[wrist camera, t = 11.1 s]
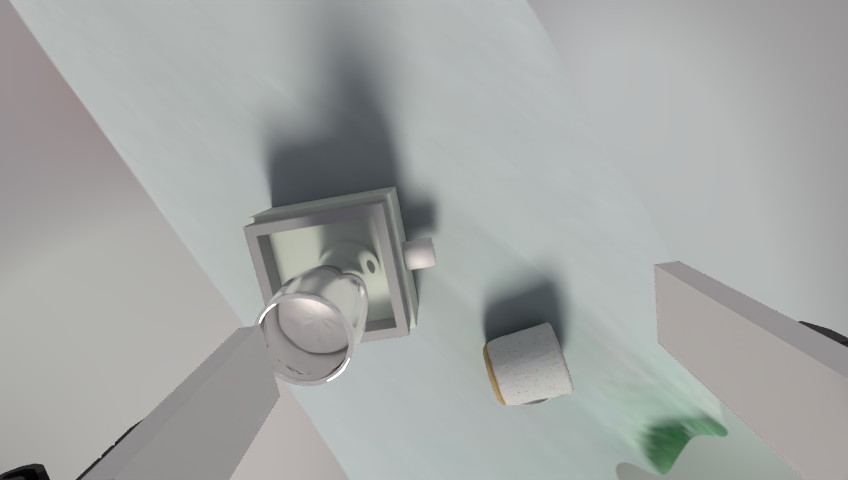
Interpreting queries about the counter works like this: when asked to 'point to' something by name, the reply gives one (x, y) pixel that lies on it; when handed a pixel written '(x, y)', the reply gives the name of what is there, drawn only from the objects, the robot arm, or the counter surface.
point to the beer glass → (320, 315)
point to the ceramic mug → (527, 366)
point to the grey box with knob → (335, 222)
